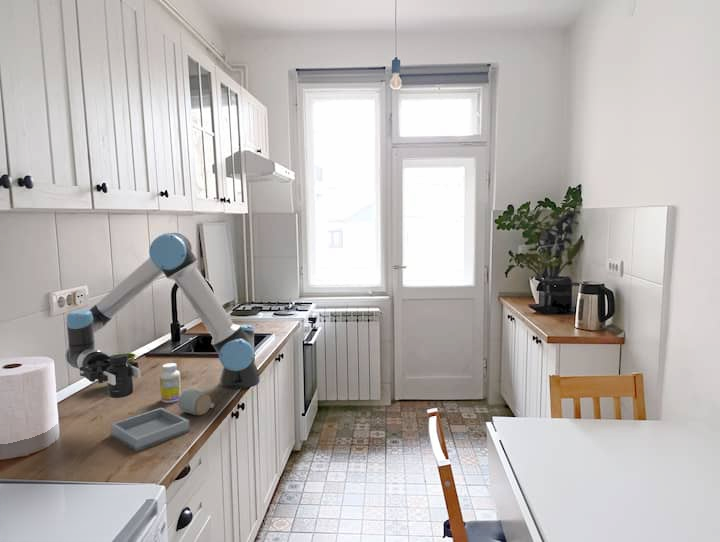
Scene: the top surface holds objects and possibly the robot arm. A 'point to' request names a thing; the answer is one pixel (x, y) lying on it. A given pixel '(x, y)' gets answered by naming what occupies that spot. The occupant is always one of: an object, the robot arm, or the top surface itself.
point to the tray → (149, 428)
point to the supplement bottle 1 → (120, 376)
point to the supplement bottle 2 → (170, 383)
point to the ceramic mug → (195, 402)
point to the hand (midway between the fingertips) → (127, 377)
